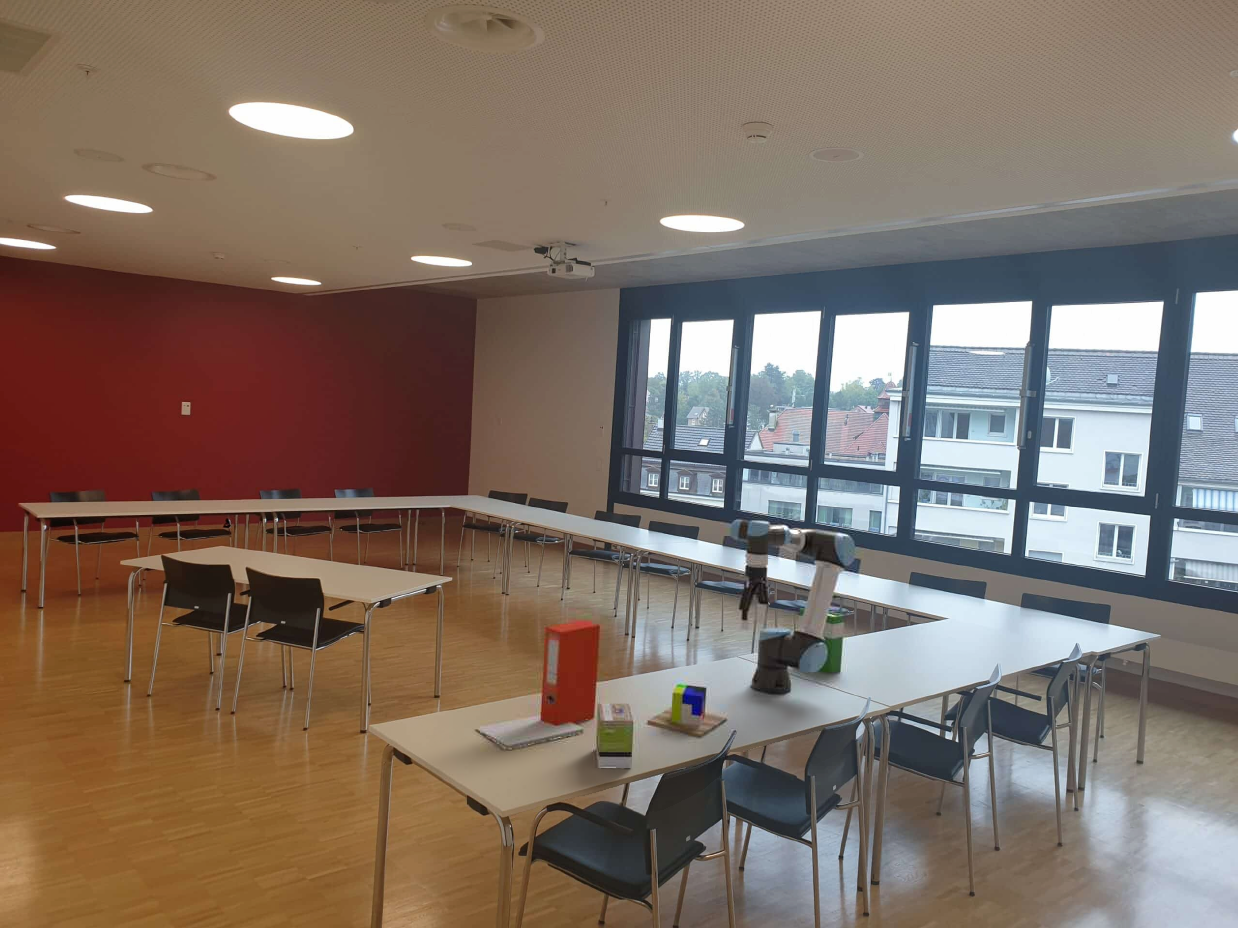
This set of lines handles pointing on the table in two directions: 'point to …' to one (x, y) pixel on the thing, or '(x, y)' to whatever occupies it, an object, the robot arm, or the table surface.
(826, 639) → the hardback book
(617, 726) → the tea box
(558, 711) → the file binder
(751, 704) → the table surface
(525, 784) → the table surface
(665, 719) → the walnut board
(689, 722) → the puzzle toy
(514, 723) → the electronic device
